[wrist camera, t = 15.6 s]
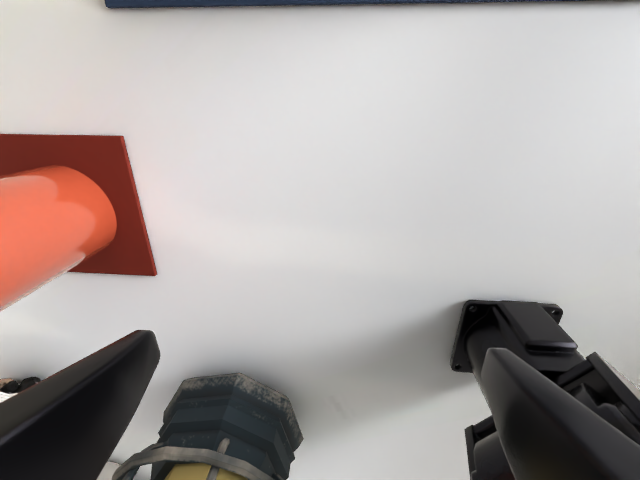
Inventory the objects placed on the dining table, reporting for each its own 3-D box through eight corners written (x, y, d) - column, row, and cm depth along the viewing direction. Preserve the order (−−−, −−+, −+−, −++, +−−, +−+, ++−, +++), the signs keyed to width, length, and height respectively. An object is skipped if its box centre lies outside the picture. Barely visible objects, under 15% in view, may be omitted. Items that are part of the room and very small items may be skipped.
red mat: (157, 274, 23) (155, 276, 23) (34, 268, 24) (31, 270, 24) (123, 135, 19) (120, 136, 19) (-24, 133, 20) (-29, 134, 20)
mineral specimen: (7, 339, 25) (-77, 442, 19) (129, 390, 32) (91, 476, 26) (-66, 368, 28) (-153, 461, 23) (57, 409, 35) (11, 487, 30)
